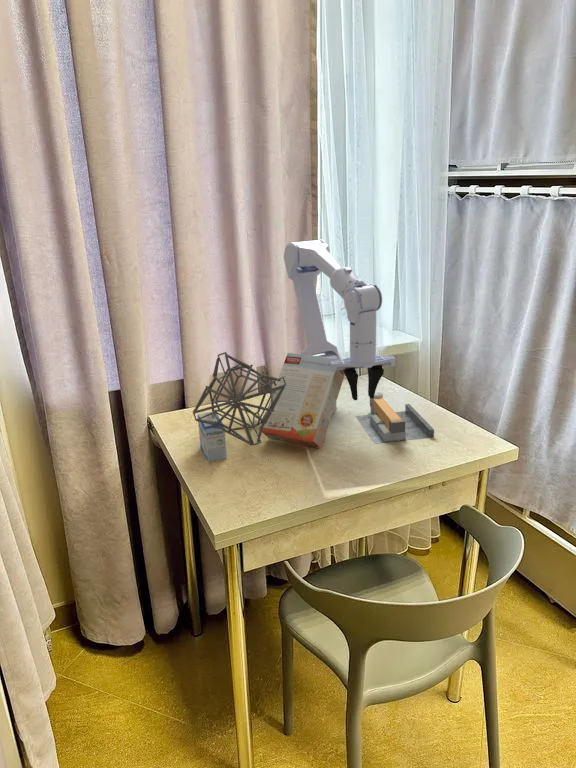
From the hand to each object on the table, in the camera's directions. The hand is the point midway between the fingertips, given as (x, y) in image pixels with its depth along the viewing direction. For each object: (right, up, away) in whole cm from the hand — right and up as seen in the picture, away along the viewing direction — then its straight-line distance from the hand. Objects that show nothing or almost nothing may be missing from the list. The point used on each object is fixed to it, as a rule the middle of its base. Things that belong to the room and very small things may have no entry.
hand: (362, 397), depth 126 cm
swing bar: (+6, -5, +4) cm, 9 cm away
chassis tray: (+8, -8, +6) cm, 13 cm away
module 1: (+6, -7, +7) cm, 11 cm away
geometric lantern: (-28, +1, +16) cm, 33 cm away
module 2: (+7, -9, +1) cm, 11 cm away
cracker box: (-17, -10, -1) cm, 20 cm away
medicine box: (-34, -13, -1) cm, 36 cm away
